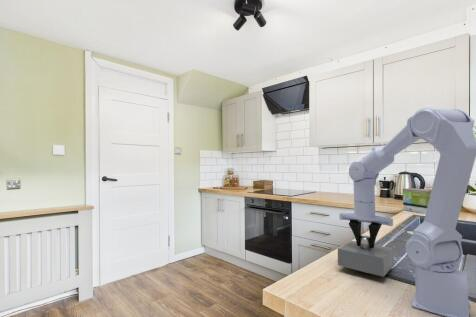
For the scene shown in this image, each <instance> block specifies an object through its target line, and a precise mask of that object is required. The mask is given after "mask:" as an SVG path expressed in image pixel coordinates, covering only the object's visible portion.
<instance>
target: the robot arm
mask: <svg viewBox="0 0 476 317" xmlns="http://www.w3.org/2000/svg"><path fill="white" fill-rule="evenodd" d="M474 124H475V120H474V119H473V118H472V117H471V116H470V115H469V114H468V113H467V112H465V111H463V110H461V109H457V108H455V109H446V108H445V109H443V108H442V109H441V108H433V107H424V108H421V109H418V110H417V111H416V112H415V113H414V114H413V115H411V116H409V118H407V121H406V124H405V126H403V128H402V129H401V130H400V131H399V132H397V133H396V134H395V135H394V136H393V137H392V138H391V139H390V140H389V141H388V142H386V144H385V145H384V146H381V145H380V146H374V147H373V148H371V152H369V153H368V154H367V155H366V156H363V157H362V158H361V160H359V161H352V162H351V164H350V165H349V168H348V175H349V177H350V179H351V180H352V182H353V210H354V211H353V213H350V212H340V213H338V214H339V216H338V217H339V220H340V221H343V220H344V221H349V222H348V226H349V228H350V229H351V232H352V234H353V236H354V239H355V241H356V243H357V246H360V236H361V235H362V223H367V224H368V223H369V224H368V231H369V236H370V248H372V249H373V248H374V245H376V239H377V236H378V233H379V232H380V229H381V227H382V225H383V226H387V227H393V226H394V218H393V217H392V218H391V217H384V216H379V215H376V198H375V197H376V195H375V192H376V190H375V186H376V185H377V179H378V178H379V175H380V172H383V170H385V169H386V168H387V167H389V166H390V165H391V164H393V163H394V161H395V156H396V155H397V154H399V153H401V152H402V151H404V150H405V149H406V148H408V147H410V146H411V145H412V144H414V143H416V142H417V141H419V140H423V141H425V142H426V143H428V144H429V145H432V146H433V147H434V149H435V150H436V151H437V152H438V153H439V154H440V156H439V158H438V159H439V160H438V163H437V167H436V172H435V175H434V179H433V183H432V188H431V190H432V191H431V195H430V199H429V203H428V207H427V211H426V214H424V218H423V222H421V223H420V224H419V225H418V226H417V227H416V228H414V229H413V231H412V236H411V237H410V238H409V239H408V240H407V241H406V243H405V251H406V254H407V257H408V258H409V260H410V261H411V262H412V263H411V264H412V265H413V266H414V282H415V283H414V284H415V294H414V295H413V299H412V303H411V306H412V307H413V308H415V309H420V310H422V311H426V312H430V313H432V314H436V315H440V316H443V317H470V311H469V310H472V309H471V299H469V285H468V273H467V272H466V271H462V270H459V269H457V262H459V261H460V260H461V259H462V257H463V253H464V252H463V247H462V238H463V236H462V234H461V233H460V232H459V231H458V230H457V229H456V227H457V224H458V221H459V217H460V213H461V210H462V207H463V204H464V200H465V196H466V193H467V190H468V185H469V182H470V180H471V179H470V178H471V175H472V172H473V169H474V165H475V161H476V136H475V133H474V130H473V127H474V126H475V125H474Z"/></svg>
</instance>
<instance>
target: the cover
mask: <svg viewBox="0 0 476 317" xmlns="http://www.w3.org/2000/svg"><path fill="white" fill-rule="evenodd" d="M337 266H338V267H339V266H340V267H343V268H347V269H352V270H354V269H355V270H354V271H357V270H358V271H359V272H362V271H363V272H362V273H364V272H366V273H365V274H370V275H375V276H379V277H383V278H384V277H385V276H386V275H387V274H388V272H389V271H390V270H391V269H392V268H393V266H394V248H393V247H387V246H382V245H377V244H375V245H374V248H373V249H372V248H370V235H364V234H363V235H362V234H361V236H360V246H357V243H356V240H350V241H348V242H346V243H345V244H343V245H341V246H340V247H338V248H337Z"/></svg>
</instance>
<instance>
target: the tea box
mask: <svg viewBox="0 0 476 317" xmlns="http://www.w3.org/2000/svg"><path fill="white" fill-rule="evenodd" d="M431 191H432V189H427V188H415V187H409V188H408V187H407V188H402V208H403V211H408V212H414V213H419V214H424V215H426V211H427V207H428V203H429V199H430V195H431Z"/></svg>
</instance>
